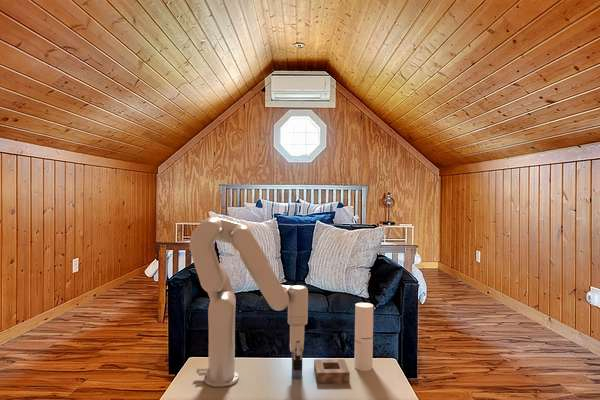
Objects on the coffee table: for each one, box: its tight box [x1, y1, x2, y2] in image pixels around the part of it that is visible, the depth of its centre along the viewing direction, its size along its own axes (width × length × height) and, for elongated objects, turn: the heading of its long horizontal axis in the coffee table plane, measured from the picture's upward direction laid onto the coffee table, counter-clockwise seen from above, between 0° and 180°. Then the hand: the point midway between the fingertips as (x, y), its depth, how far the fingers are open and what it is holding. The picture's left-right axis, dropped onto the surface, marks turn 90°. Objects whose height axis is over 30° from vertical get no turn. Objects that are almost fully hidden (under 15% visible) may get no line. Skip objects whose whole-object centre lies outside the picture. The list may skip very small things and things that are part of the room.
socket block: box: [313, 358, 351, 385], centre depth 159 cm, size 12×12×4 cm
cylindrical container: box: [353, 302, 374, 372], centre depth 168 cm, size 7×7×25 cm
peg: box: [291, 349, 304, 380], centre depth 158 cm, size 4×4×12 cm
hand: (297, 366), depth 158 cm, fingers open, 4 cm apart
